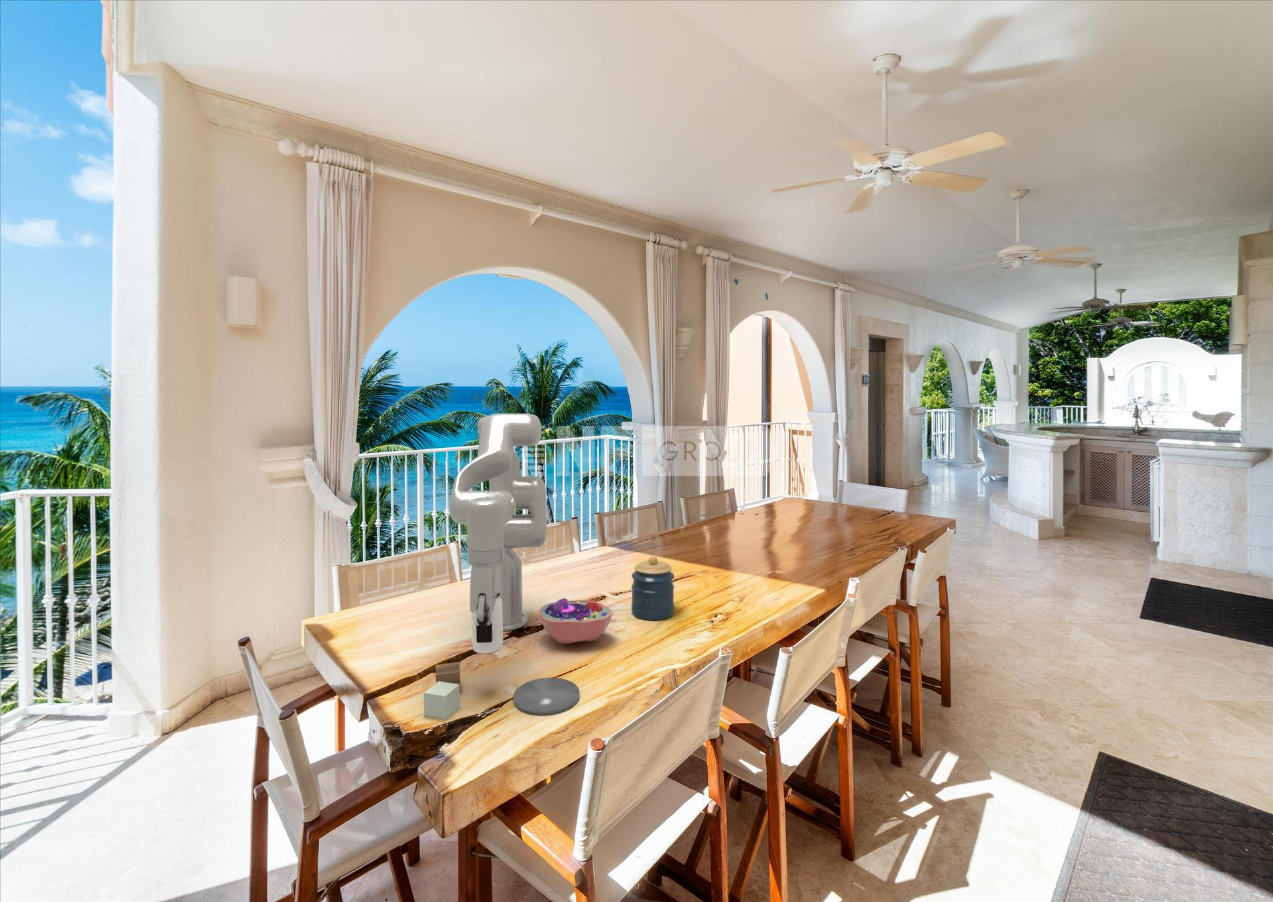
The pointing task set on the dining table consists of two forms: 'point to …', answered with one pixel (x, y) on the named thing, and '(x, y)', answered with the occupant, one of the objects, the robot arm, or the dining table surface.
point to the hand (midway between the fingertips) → (487, 633)
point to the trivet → (546, 696)
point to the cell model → (575, 620)
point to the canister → (652, 590)
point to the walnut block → (448, 673)
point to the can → (496, 630)
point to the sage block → (441, 700)
